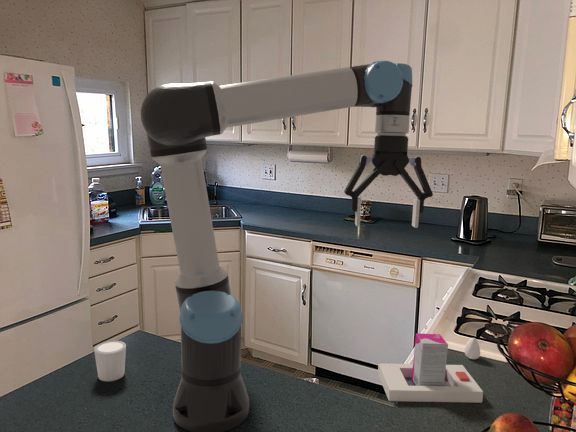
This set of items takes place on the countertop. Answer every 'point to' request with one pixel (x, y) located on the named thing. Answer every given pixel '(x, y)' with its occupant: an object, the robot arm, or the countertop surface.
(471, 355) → the egg
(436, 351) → the supplement box
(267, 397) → the countertop surface
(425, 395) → the socket plate
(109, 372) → the white candle
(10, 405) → the countertop surface
